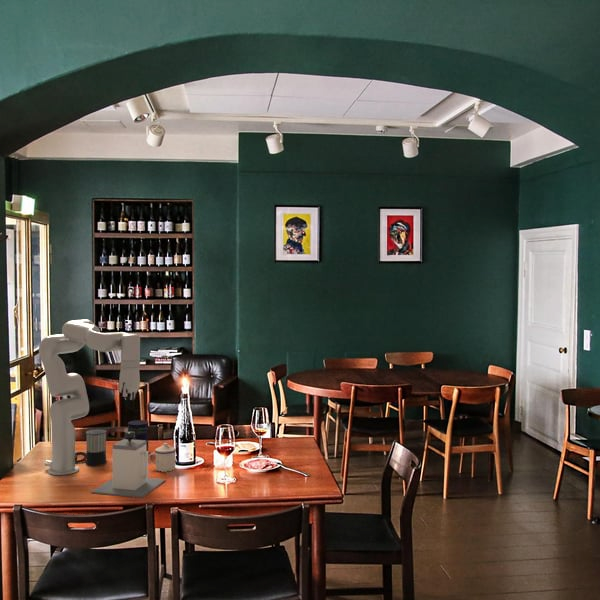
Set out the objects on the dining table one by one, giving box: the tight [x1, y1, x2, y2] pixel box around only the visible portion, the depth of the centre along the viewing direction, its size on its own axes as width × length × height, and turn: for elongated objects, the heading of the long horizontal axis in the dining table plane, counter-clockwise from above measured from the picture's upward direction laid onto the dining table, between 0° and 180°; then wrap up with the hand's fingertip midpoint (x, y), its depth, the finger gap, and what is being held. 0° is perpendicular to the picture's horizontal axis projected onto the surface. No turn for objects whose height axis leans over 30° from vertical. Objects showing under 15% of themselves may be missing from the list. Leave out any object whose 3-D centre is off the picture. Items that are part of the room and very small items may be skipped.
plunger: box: [124, 431, 135, 443], centre depth 268 cm, size 4×4×18 cm
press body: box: [111, 438, 149, 490], centre depth 268 cm, size 13×10×18 cm
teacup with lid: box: [148, 442, 177, 473], centre depth 293 cm, size 12×9×12 cm
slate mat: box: [90, 477, 166, 499], centre depth 268 cm, size 22×22×1 cm
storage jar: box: [127, 419, 149, 452], centre depth 319 cm, size 10×10×15 cm
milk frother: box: [75, 428, 108, 467], centre depth 301 cm, size 14×16×15 cm
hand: (129, 409), depth 267 cm, fingers closed
